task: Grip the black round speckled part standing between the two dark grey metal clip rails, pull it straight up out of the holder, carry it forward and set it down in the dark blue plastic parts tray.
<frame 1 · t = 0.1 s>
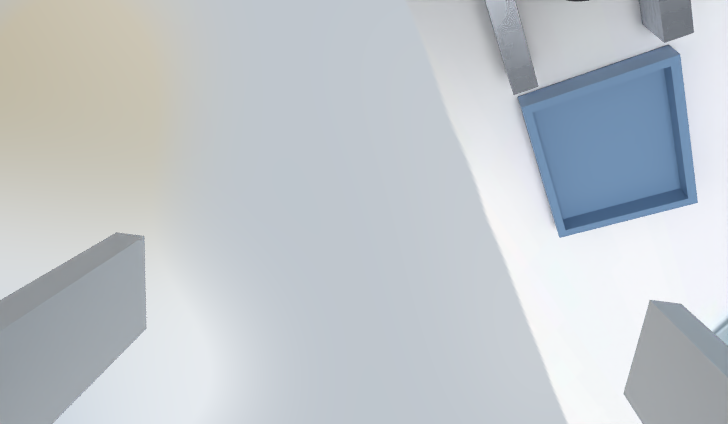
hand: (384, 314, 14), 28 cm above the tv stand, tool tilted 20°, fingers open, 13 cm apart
parts tray: (605, 144, 40), on the tv stand
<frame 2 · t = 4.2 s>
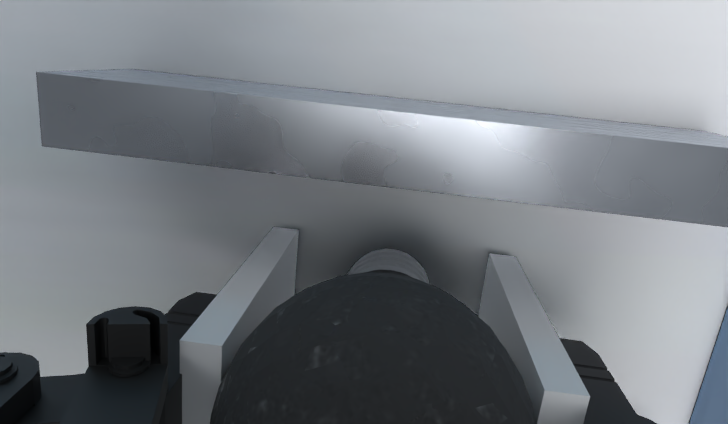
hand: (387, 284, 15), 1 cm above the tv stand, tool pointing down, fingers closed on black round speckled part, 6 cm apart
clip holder: (388, 276, 16), on the tv stand
black round speckled part: (388, 273, 16), on the tv stand, touching gripper
when the fingers open (3 cm above the tv stand, at t = 11.2 s): black round speckled part drops 1 cm, resting on parts tray.
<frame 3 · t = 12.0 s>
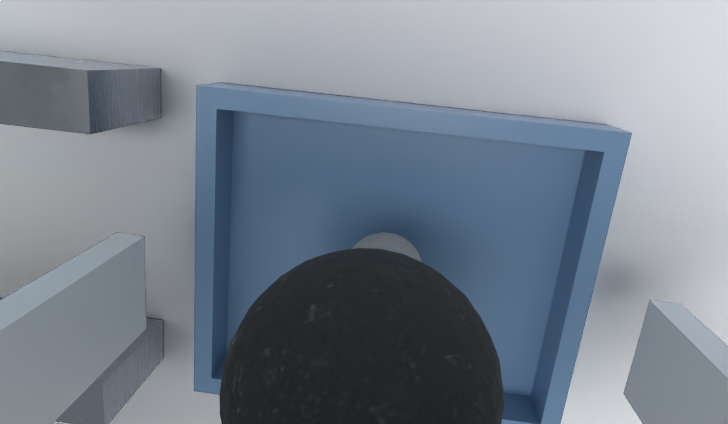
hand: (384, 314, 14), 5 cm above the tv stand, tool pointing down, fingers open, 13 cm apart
parts tray: (390, 253, 18), on the tv stand
black round speckled part: (386, 256, 18), resting on parts tray
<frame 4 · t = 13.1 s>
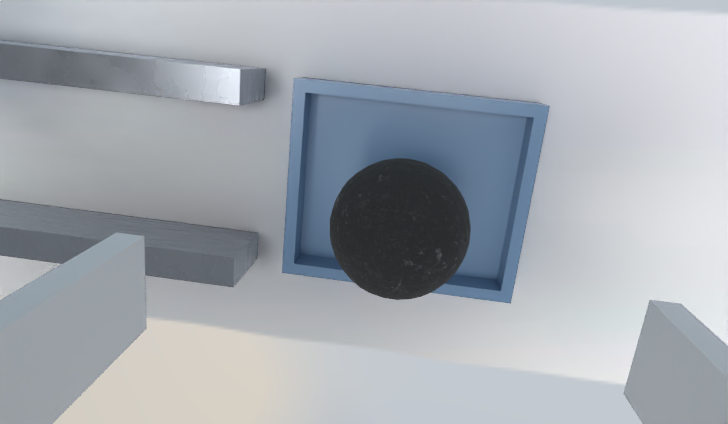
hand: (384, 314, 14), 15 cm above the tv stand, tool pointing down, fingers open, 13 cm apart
parts tray: (407, 186, 28), on the tv stand
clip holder: (121, 151, 29), on the tv stand
black round speckled part: (404, 187, 28), resting on parts tray
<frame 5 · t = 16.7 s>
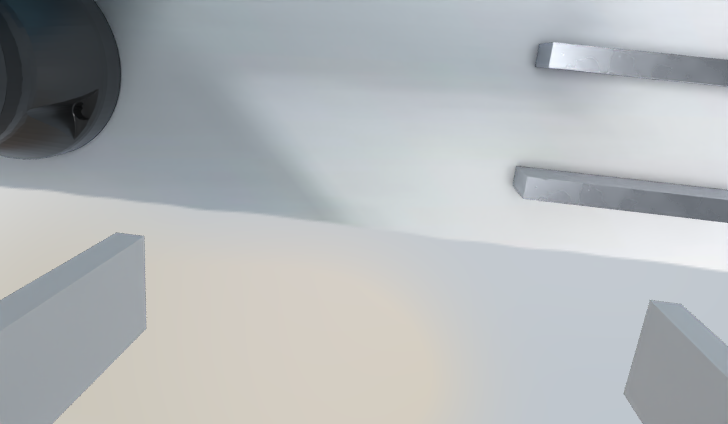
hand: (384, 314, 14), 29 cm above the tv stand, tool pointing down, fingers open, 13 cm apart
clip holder: (632, 129, 39), on the tv stand
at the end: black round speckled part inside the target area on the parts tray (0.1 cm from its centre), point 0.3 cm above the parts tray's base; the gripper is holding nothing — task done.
